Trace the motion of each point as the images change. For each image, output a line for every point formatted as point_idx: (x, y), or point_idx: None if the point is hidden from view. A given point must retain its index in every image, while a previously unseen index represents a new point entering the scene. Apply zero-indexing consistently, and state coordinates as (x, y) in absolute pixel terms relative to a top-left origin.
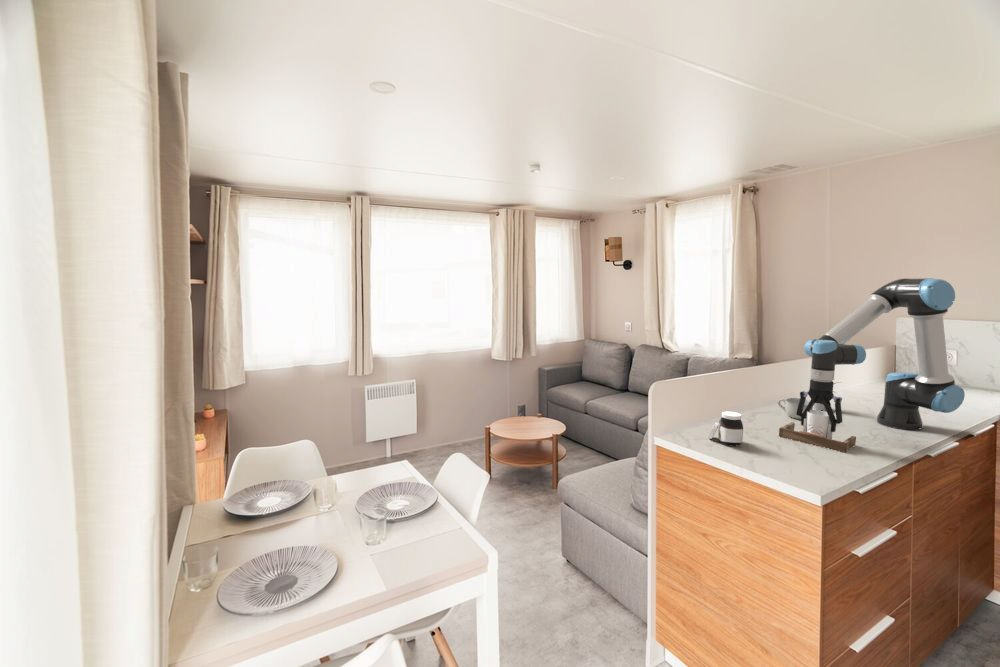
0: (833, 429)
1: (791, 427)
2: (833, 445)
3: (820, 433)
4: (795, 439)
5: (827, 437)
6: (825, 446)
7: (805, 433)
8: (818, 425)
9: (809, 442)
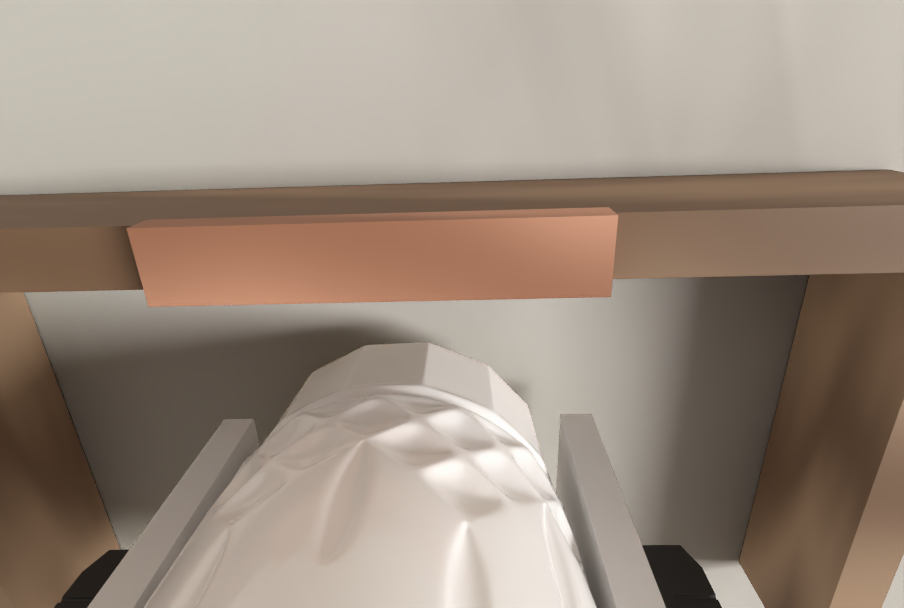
0: (76, 601)
1: (802, 545)
2: (29, 207)
3: (289, 424)
4: (625, 182)
5: (234, 445)
6: (174, 194)
7: (481, 213)
8: (256, 522)
9: (408, 190)
